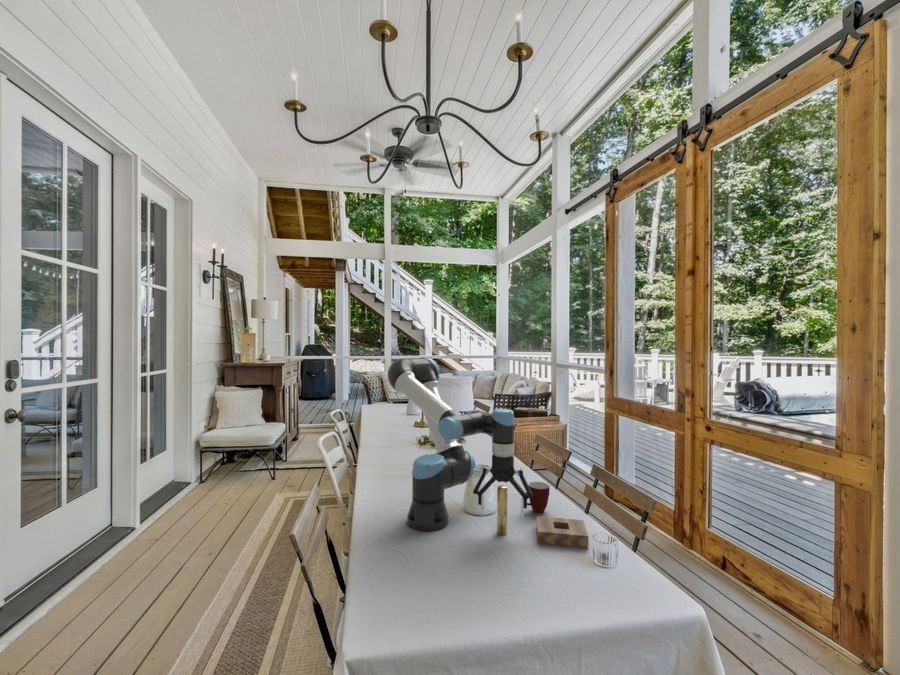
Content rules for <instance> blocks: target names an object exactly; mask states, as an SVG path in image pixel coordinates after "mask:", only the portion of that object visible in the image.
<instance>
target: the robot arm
mask: <svg viewBox="0 0 900 675" xmlns="http://www.w3.org/2000/svg"><path fill="white" fill-rule="evenodd" d="M440 373H441V371H440V367H439V365H438V364H437V362H436V361H435V360H433V359H432V358H430V357H429V358H428V357H419V358H416V357H414V358H398V359H397V360H395V361H394V362H392V363H391V364H390V366H389V368H388V370H387V379H388V380H387V381H388V382H389V384H390V386H391V388H393V390H394V391H395V392H396V393H398V394H403V395H404V396H405V397H406V398H407V399H408V400H410V401H411V402H412V403H413V404H414V405H415V406H416V407H417V408H418V409H420V410H421V411H422V413H423V415H424V417H425V420H426V424H427V426H428V429H429V432H430V435H431V438H432V441H433V444H434V446H435V449H436V451H435V453H431V454H429V453H428V454H424V455H421V456H418V457H417V458H416V459H415V460H414V461H413V464H412V472H411V476H412V477H411V478H412V485H411V486H412V487H411V488H412V492H411V495H412V499H411V503H410V506H409V510H408V513H407V516H406V518H407V519H406V522H407V523H406V524H407V526H408V527H410V528H411V529H414V530H417V531H419V532H434V531H438V530H442V529H444V528H446V527H447V526H448V525H449V522H450V521H449V516H450V515H449V512H448V509H447V506H446V503H445V490H447V489H450V488H454V487H456V486H459V485H464V484H465V483H467V482H469V481H471V480H470V478H471V477H472V475H473V469H474V468H475V469H476V461H475V460H476V459H475V457H474V456H473V454H472V453H470V452H469V451H468V450H465V449H464V446H463V444H461V443H459V442H458V441H457V440H458V439H461V438H465V437H469V436H473V435H478V434H484V435H485V434H486V435H490V436H491V440H492V441H491V443H492V444H491V454H492V455H491V467H487V466H486V465H484V466H483V467H482V471H481V472H482V473H481V475H480V477H479V479H478V481H477V482H476V484H475V486H474V488H473V491H472V493H473V494H474V495H477V496H478V498H477V500H478V502H477V505H479V506H481V507H480V508H481V512H480V514H481V516H484V515H485V492H487V490H488V489H489V488H490V487H491V485H493V484H494V483H495V482H496V481H497V482H498V483H502V482H503V483H508V482H509V483H510V484H511V485H512V486H513V488H514V489H515V490H516V491H517V492H518V494H519V495H520V496H521V498H520V499H521V500H520V503H521V504H520V505H521V506H520V508H521V509H520V514H521V516H520V519H521V520H524V509H527V508H528V505H527V503H528V499H529V498H532V492H531V490H530V488H529V483H528V482H527V480H526V478H525V475H524V469H523V468H522V467H520V468H519V469H515V456H514V453H515V440H514V439H515V438H514V435H515V414H514V411H513V410H512V409H510V408H495V409H493V410H492V411H491V412H486V411H481V410H478V409H477V410H474V409H473V410H469V411H468V412H467V413H463V414H459V413H458V412H457V411H455V410H454V409H453V408H452V407H451V406H449V405H448V404H447V403H446V402H445V401H443V400H442V399H441V396H440V394H439V390H438V386H439V380H440V377H441V376H440ZM489 473H491V475H492V476H491V477H490V478H489V479H488V481H487V482H486V483H485V484H484V485H483V486H482V487H481V485H482V483H483V482H484V479H485V477H486V475H488V474H489ZM515 474H516V475H517V477H519V480H520V482H521V483H522V485H523V487H524V489H523V488H522V486H520V484H519V483H518V482H517V481H516V479H515V478H514V476H515ZM472 478H473V477H472ZM480 487H481V489H480ZM526 492H527V494H526Z"/></svg>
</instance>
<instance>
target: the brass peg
mask: <svg viewBox="0 0 900 675" xmlns="http://www.w3.org/2000/svg"><path fill="white" fill-rule="evenodd" d="M496 501H497V502H496V503H497V504H496V505H497V506H496V509H497V510H496V519H497V520H496V534H497V535H499V536H506V535H507V532H508V486H507V485H503V484H500V485H497V500H496Z"/></svg>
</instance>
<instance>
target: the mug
mask: <svg viewBox="0 0 900 675" xmlns="http://www.w3.org/2000/svg"><path fill="white" fill-rule="evenodd" d="M528 486H529V488H530V490H531V492H532V498H528V499H529V502H527V506H530V507H531V508H532V511H533V512H535V513H537V514H540V513H544V512H545V511H546V508H547V506H548V502H549V498H550V484H548V483H546V482H543V481H542V482H541V481H532V482H529V483H528ZM525 493H526V494H527V492H526V491H525Z"/></svg>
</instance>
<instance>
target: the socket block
mask: <svg viewBox="0 0 900 675" xmlns="http://www.w3.org/2000/svg"><path fill="white" fill-rule="evenodd" d="M536 539H537V545H538V544H539V545H549V546H556V547H557V546H559V547H560V546H561V547H569V548H580V549H589V534H588V531H587V528H586V525H585V521H584V520H583V519H575V518H562V517H561V518H560V517H552V516H539V515H537V516H536Z"/></svg>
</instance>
